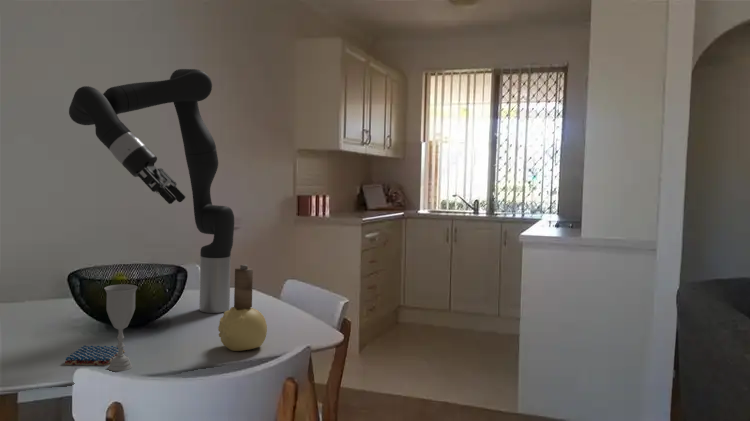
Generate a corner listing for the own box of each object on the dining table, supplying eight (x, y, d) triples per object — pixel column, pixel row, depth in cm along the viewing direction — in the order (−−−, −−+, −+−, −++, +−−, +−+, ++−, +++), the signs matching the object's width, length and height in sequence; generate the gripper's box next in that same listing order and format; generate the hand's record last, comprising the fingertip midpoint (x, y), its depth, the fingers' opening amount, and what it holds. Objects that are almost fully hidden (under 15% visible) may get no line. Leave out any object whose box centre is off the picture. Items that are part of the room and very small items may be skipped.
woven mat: (61, 367, 133) (61, 358, 133) (81, 353, 144) (81, 344, 143) (109, 368, 134) (109, 359, 134) (126, 353, 144) (126, 345, 144)
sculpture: (217, 342, 155) (218, 301, 154) (264, 340, 158) (265, 300, 157) (218, 355, 144) (219, 311, 143) (268, 353, 147) (269, 310, 146)
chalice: (110, 361, 136) (111, 284, 135) (141, 362, 137) (142, 284, 136) (98, 372, 129) (99, 290, 128) (130, 372, 130) (131, 291, 128)
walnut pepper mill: (236, 304, 152) (237, 263, 152) (253, 304, 152) (254, 264, 152) (232, 308, 148) (233, 266, 147) (250, 308, 148) (251, 266, 147)
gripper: (134, 142, 144) (181, 191, 145) (153, 145, 158) (196, 190, 160) (111, 163, 144) (158, 212, 146) (132, 164, 158) (175, 209, 160)
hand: (178, 200), depth 153 cm, fingers open, 8 cm apart
